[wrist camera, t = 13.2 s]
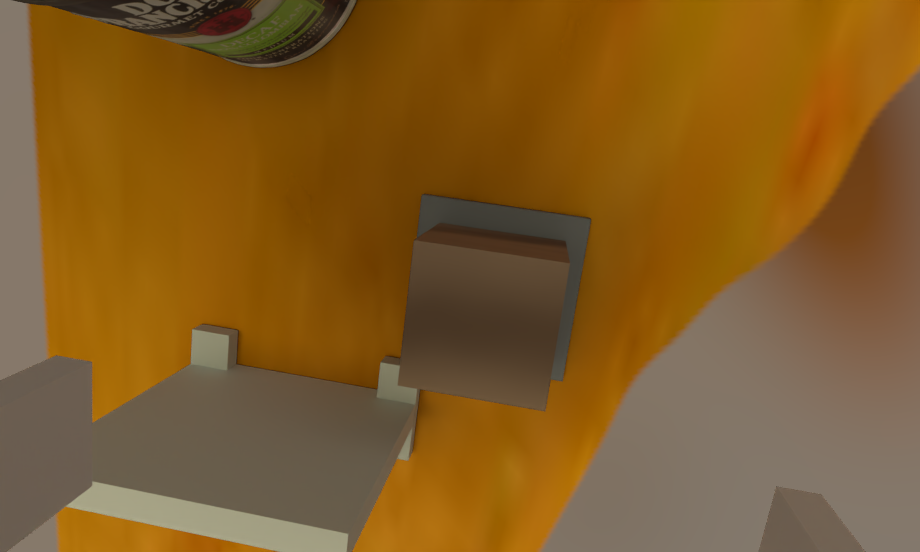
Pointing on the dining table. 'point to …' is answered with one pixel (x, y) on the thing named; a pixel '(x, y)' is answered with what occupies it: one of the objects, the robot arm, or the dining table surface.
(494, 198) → the dining table surface
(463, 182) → the dining table surface
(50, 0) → the coffee can
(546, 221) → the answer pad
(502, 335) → the brown cube
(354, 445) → the screen
